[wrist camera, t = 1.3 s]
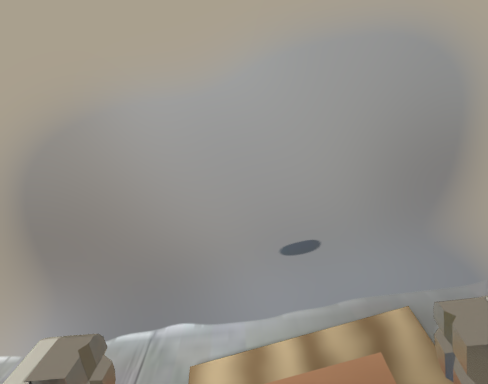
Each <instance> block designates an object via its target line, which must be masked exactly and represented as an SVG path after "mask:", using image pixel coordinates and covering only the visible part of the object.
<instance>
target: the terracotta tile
mask: <svg viewBox="0 0 488 384" xmlns="http://www.w3.org/2000/svg"><path fill="white" fill-rule="evenodd" d="M266 384H396V382H395V380H394V378H393V376H392V374H391V372H390V370H389V368H388V366H387V364H386V362H385V359H384V357H383V355H382V353H381V352H380V353H376V354H372V355H369V356H365V357H361V358H358V359H354V360H350V361H347V362H343V363H339V364H336V365H332V366H328V367H325V368H321V369H317V370H314V371H310V372H306V373H303V374H299V375H295V376H292V377H288V378H284V379H281V380H277V381H273V382H270V383H266Z"/></svg>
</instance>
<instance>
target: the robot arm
mask: <svg viewBox="0 0 488 384" xmlns="http://www.w3.org/2000/svg"><path fill="white" fill-rule="evenodd" d="M433 313H434V319H435V321H436V323H437V325H438V326H439V329H438V330H437V331H436V333H435V334H434V338H435V349H436V353H437V358H438V361H439V364H440V367H441V369H442V371H443V373H444V375H445V377H446V378H447V379H449V380H450V381H452V382H453V383H454V384H488V296H482V297H478V298H469V299H460V300H450V301H441V302H435V303H434V308H433ZM106 349H107V345H106V342H105V340H104V337H103V336H101V335H100V334H88V335H74V336H63V337H50V338H45V339H42V340H40V341H39V342H38V344H37V345H36V346H35V347H34V348H33V349H32V350H31V351H30V353H29V354H28V355H27V356H26V357H25V358H24V360H23V361H22V362H21V363H20V364H19V365H18V367H17V368H16V369H15V370H14V371H13V372H12V374H11V375H10V376H9V377H8V378H7V379H6V381H5V382H4V383H3V384H115V380H116V378H115V369H114V366H113V363H112V361H111V360H110V359H109V358H107V357H106V356H105V355H104V354H105V351H106Z"/></svg>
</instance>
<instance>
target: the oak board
mask: <svg viewBox="0 0 488 384" xmlns="http://www.w3.org/2000/svg"><path fill="white" fill-rule="evenodd" d="M380 352H381V353H382V355H383V357H384V359H385V362H386V364H387V366H388V368H389V370H390V372H391V374H392V376H393V378H394V380H395V382H396V384H454V383H453V382H452V381H450V380H449V379H447V378H446V377H445V375H444V373H443V371H442V369H441V367H440V364H439V361H438V358H437V353H436V349H435V345H434V344H433V342H432V341H431V339H430V338H429V336H428V335H427V333H426V332H425V330H424V329H423V327H422V326H421V324H420V323H419V321H418V320H417V318H416V317H415V315H414V314H413V312H412V311H411V309H410V308H409V306H407V307H403V308H400V309H396V310H392V311H389V312H385V313H382V314H378V315H375V316H371V317H367V318H364V319H360V320H357V321H353V322H349V323H346V324H342V325H339V326H335V327H331V328H328V329H324V330H321V331H317V332H314V333H310V334H306V335H303V336H299V337H296V338H292V339H288V340H285V341H281V342H278V343H274V344H270V345H267V346H263V347H260V348H256V349H253V350H249V351H245V352H242V353H238V354H235V355H231V356H227V357H224V358H220V359H217V360H213V361H209V362H206V363H202V364H199V365H195V366H192V367H190V373H189V384H266V383H270V382H273V381H277V380H281V379H284V378H288V377H292V376H295V375H299V374H303V373H306V372H310V371H314V370H317V369H321V368H325V367H328V366H332V365H336V364H339V363H343V362H347V361H350V360H354V359H358V358H361V357H365V356H369V355H372V354H376V353H380Z"/></svg>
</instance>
